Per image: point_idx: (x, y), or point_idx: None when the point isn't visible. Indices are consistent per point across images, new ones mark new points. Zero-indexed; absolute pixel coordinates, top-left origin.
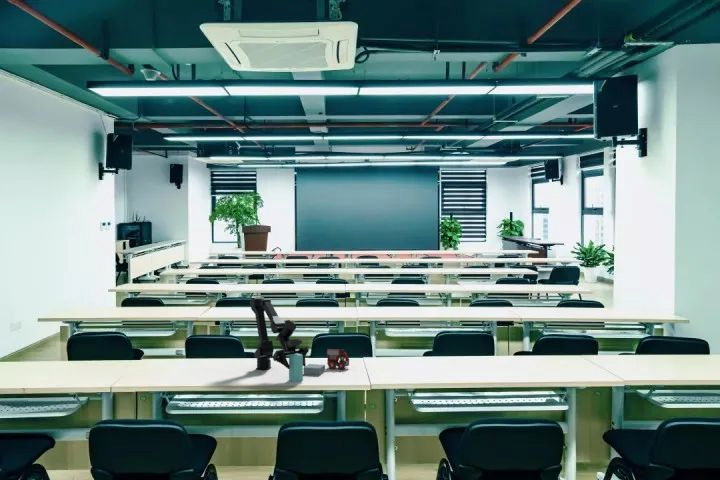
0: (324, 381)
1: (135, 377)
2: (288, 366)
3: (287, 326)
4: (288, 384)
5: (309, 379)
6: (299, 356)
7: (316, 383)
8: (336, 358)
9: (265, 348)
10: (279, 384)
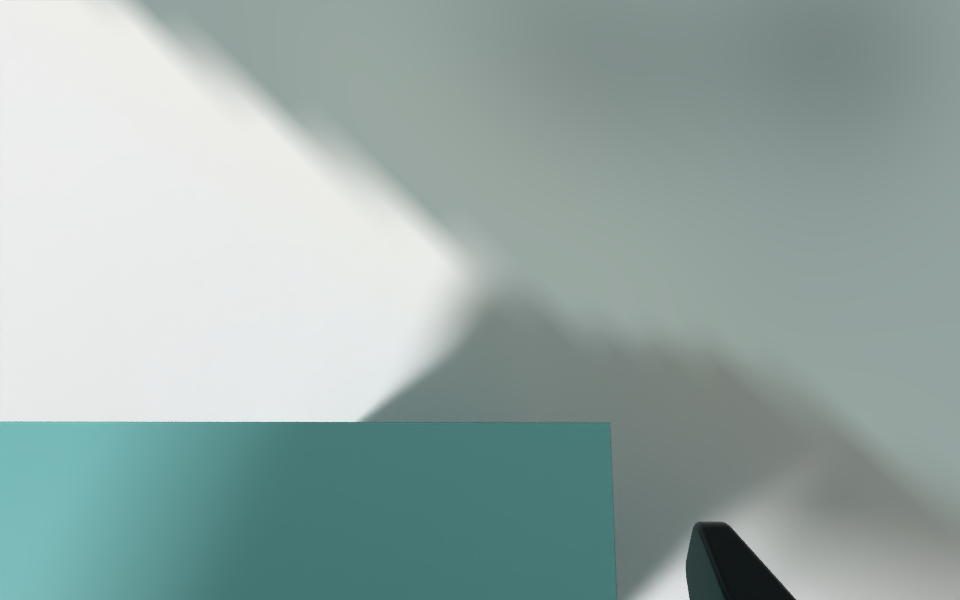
0: (45, 151)
1: None
2: (765, 566)
3: None
4: (726, 363)
5: None
6: (122, 431)
7: (251, 116)
8: None
9: None
10: (890, 478)
